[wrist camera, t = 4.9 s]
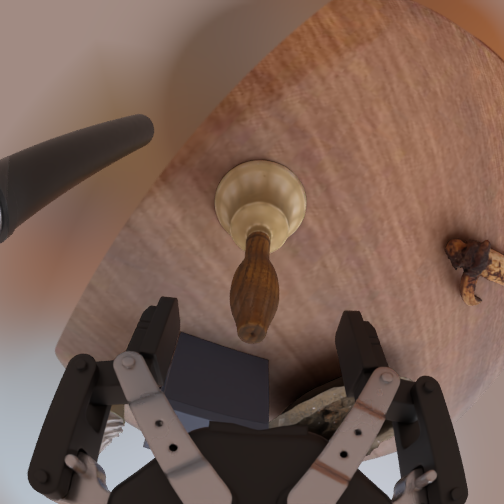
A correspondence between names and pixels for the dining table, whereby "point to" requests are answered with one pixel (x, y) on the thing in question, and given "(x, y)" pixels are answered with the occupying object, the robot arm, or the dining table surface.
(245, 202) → the hand bell
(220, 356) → the shelf
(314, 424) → the stone bowl
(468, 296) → the lashed bone hook
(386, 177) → the dining table surface
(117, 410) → the ice cream cone
